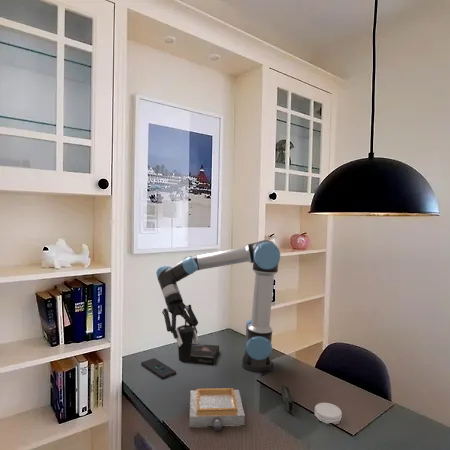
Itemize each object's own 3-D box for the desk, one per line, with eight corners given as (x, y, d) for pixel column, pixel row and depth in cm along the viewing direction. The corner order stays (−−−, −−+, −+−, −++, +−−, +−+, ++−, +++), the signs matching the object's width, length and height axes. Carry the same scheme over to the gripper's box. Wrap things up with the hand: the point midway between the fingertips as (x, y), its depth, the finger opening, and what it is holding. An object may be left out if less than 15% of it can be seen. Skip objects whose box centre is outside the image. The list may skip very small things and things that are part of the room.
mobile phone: (280, 384, 147) (288, 403, 132) (287, 384, 147) (296, 403, 132) (280, 396, 147) (288, 416, 132) (287, 396, 147) (296, 416, 132)
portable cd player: (219, 352, 191) (219, 345, 191) (213, 365, 174) (213, 358, 174) (190, 349, 193) (190, 342, 193) (182, 363, 176) (182, 355, 176)
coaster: (347, 421, 130) (347, 412, 130) (328, 429, 125) (328, 419, 125) (327, 408, 139) (327, 399, 138) (309, 414, 134) (309, 405, 133)
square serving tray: (238, 399, 143) (238, 386, 143) (245, 431, 122) (245, 416, 122) (190, 399, 141) (190, 386, 141) (189, 432, 120) (189, 417, 120)
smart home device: (162, 376, 158) (140, 362, 172) (162, 380, 158) (140, 365, 172) (177, 371, 163) (154, 357, 178) (177, 374, 163) (154, 360, 178)
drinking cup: (190, 364, 143) (191, 317, 142) (173, 362, 145) (174, 315, 144) (195, 357, 151) (197, 312, 150) (179, 355, 152) (180, 310, 151)
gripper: (188, 298, 165) (205, 342, 152) (149, 303, 154) (164, 352, 141) (194, 289, 160) (212, 334, 148) (154, 294, 149) (170, 343, 136)
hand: (188, 343), depth 144 cm, fingers closed on drinking cup, 7 cm apart
